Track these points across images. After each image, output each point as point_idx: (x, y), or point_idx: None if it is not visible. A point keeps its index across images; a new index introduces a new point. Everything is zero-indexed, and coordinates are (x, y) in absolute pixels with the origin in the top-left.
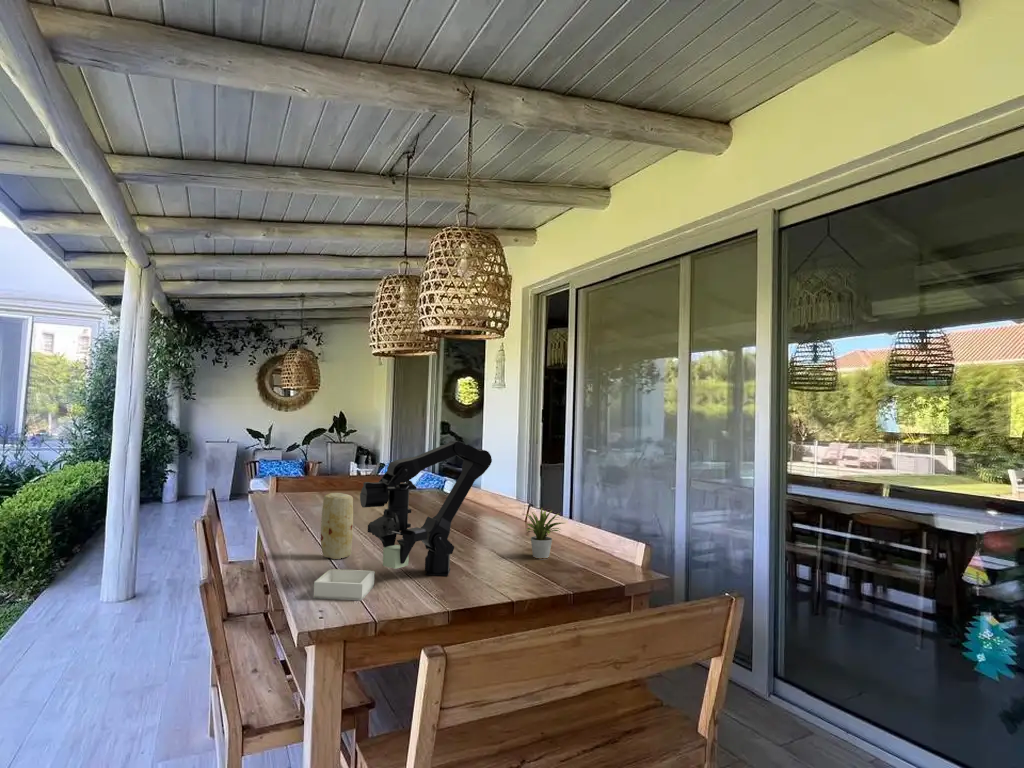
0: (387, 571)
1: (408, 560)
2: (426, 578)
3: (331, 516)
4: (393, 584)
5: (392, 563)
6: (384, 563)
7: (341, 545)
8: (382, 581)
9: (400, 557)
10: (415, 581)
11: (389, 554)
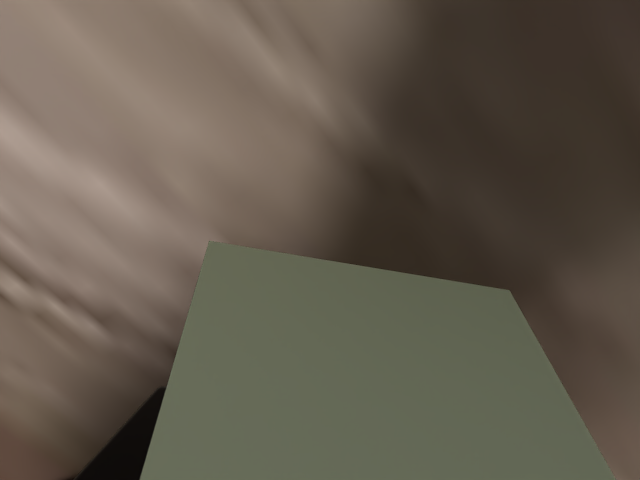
0: None
1: None
2: (54, 412)
3: None
4: (171, 64)
5: (274, 301)
6: (481, 310)
7: None
8: (382, 98)
9: (141, 466)
10: (56, 294)
11: (392, 446)
